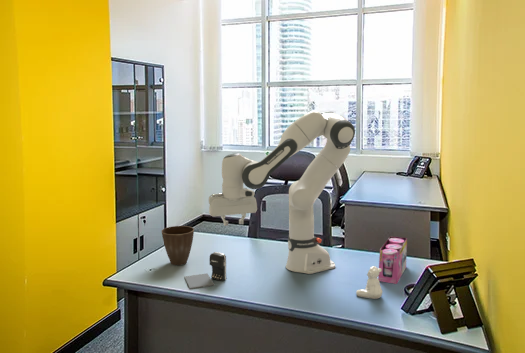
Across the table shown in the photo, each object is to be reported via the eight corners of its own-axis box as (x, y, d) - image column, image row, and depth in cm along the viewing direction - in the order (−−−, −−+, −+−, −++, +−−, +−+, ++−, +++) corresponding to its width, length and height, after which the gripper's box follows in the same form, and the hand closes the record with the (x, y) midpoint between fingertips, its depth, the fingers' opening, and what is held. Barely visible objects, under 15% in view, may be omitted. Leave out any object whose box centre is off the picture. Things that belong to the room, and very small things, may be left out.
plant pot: (198, 257, 213) (197, 225, 210) (190, 268, 198) (189, 234, 195) (168, 257, 214) (167, 225, 212) (158, 267, 199) (157, 234, 197)
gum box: (396, 285, 176) (397, 253, 174) (377, 282, 179) (377, 250, 177) (406, 266, 197) (407, 237, 195) (388, 264, 200) (389, 235, 198)
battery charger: (208, 279, 185) (207, 253, 184) (214, 276, 188) (213, 250, 187) (221, 282, 181) (220, 256, 180) (227, 279, 184) (226, 253, 183)
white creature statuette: (371, 289, 173) (371, 260, 171) (389, 296, 166) (390, 266, 164) (355, 295, 167) (355, 265, 165) (372, 303, 160) (373, 271, 158)
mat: (207, 274, 190) (207, 273, 190) (214, 285, 178) (214, 284, 178) (184, 277, 187) (184, 276, 187) (190, 289, 175) (190, 287, 175)
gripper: (210, 195, 175) (211, 229, 177) (258, 191, 182) (258, 224, 184) (206, 193, 181) (207, 225, 183) (253, 189, 188) (253, 220, 190)
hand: (233, 224), depth 184 cm, fingers open, 5 cm apart
